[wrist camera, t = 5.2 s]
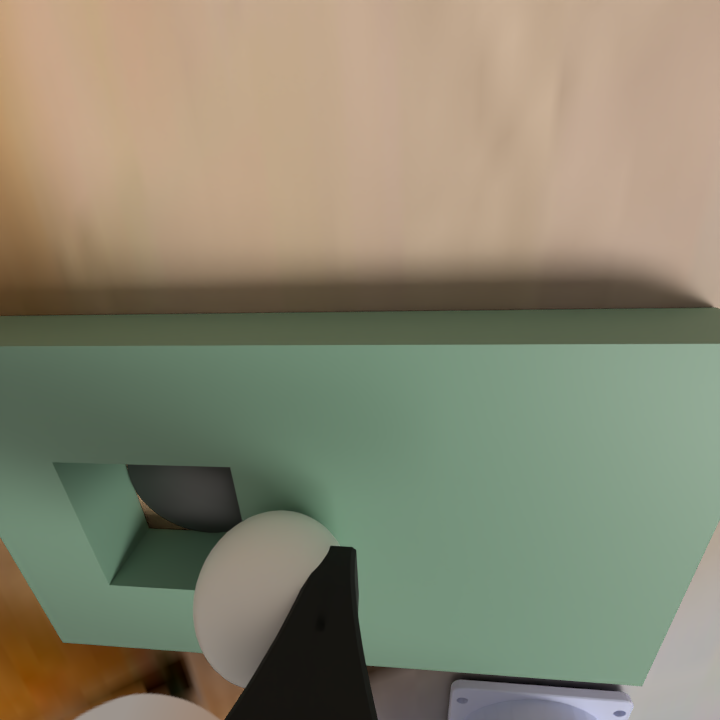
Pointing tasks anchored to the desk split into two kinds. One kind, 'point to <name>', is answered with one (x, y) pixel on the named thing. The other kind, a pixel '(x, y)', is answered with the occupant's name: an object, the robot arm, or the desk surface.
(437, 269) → the desk surface
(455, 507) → the putting board
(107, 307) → the desk surface
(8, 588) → the desk surface
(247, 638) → the ball
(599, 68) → the desk surface
